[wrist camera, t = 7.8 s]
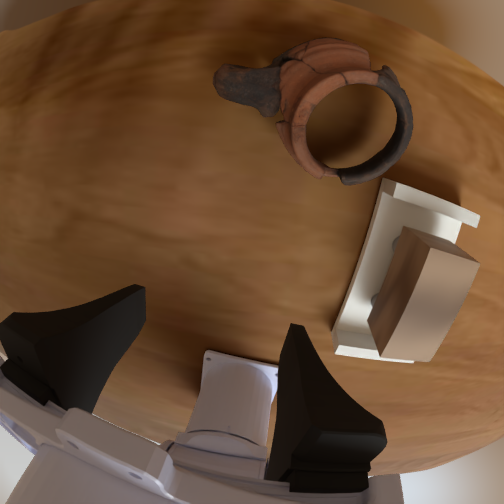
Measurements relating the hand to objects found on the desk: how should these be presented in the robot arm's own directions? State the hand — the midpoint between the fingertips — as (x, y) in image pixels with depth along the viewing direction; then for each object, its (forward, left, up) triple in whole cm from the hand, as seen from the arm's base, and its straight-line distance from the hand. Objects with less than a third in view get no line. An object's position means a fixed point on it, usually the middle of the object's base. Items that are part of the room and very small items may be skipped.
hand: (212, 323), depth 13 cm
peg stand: (+1, -13, -10) cm, 16 cm away
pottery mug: (+12, -3, -10) cm, 16 cm away
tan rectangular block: (+1, -13, -8) cm, 15 cm away
